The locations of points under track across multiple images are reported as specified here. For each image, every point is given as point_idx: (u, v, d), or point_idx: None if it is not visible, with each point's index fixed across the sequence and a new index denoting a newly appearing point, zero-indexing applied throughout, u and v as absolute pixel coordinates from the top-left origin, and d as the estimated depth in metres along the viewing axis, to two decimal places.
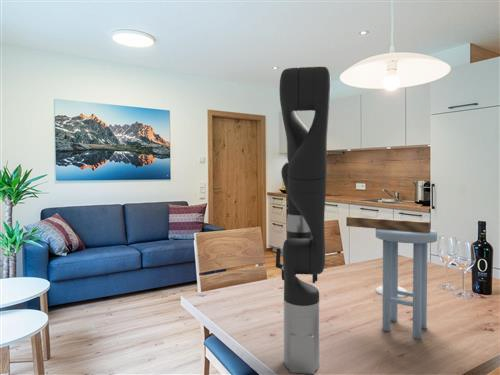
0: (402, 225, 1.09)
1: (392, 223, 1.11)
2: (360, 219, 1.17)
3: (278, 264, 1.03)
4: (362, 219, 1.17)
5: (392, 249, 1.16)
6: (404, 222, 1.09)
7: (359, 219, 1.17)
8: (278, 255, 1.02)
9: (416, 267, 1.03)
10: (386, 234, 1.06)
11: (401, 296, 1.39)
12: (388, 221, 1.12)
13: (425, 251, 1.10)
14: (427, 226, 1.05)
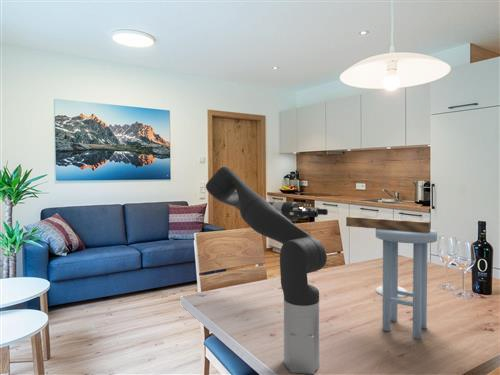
0: (402, 225, 1.09)
1: (392, 223, 1.11)
2: (360, 219, 1.17)
3: None
4: (362, 219, 1.17)
5: (392, 249, 1.16)
6: (404, 222, 1.09)
7: (359, 219, 1.17)
8: None
9: (416, 267, 1.03)
10: (386, 234, 1.06)
11: (401, 296, 1.39)
12: (388, 221, 1.12)
13: (425, 251, 1.10)
14: (427, 226, 1.05)
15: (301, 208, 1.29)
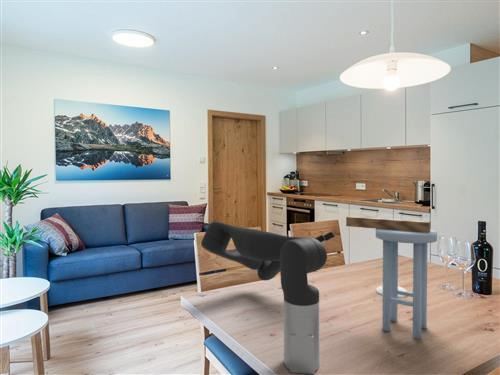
0: (402, 225, 1.09)
1: (392, 223, 1.11)
2: (360, 219, 1.17)
3: None
4: (362, 219, 1.17)
5: (392, 249, 1.16)
6: (404, 222, 1.09)
7: (359, 219, 1.17)
8: None
9: (416, 267, 1.03)
10: (386, 234, 1.06)
11: (401, 296, 1.39)
12: (388, 221, 1.12)
13: (425, 251, 1.10)
14: (427, 226, 1.05)
15: None
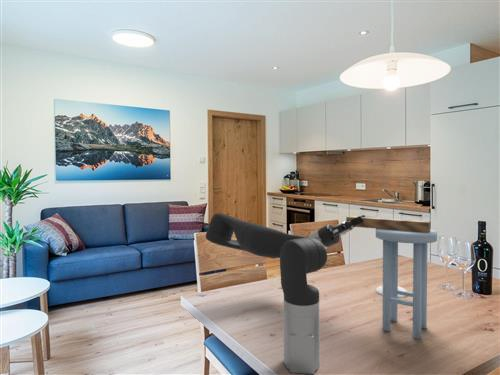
0: (402, 225, 1.09)
1: (392, 223, 1.11)
2: None
3: None
4: None
5: (392, 249, 1.16)
6: (404, 222, 1.09)
7: None
8: None
9: (416, 267, 1.03)
10: (386, 234, 1.06)
11: (401, 296, 1.39)
12: (388, 221, 1.12)
13: (425, 251, 1.10)
14: (427, 226, 1.05)
15: None
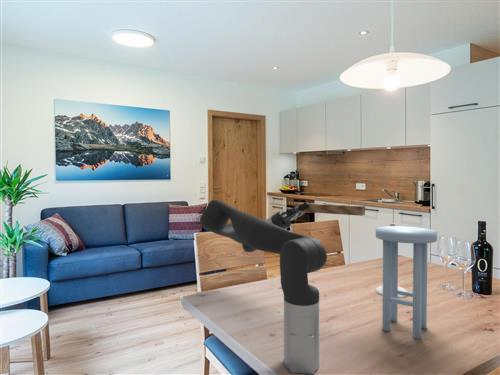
0: (341, 209, 1.21)
1: (332, 208, 1.23)
2: None
3: (305, 212, 1.36)
4: None
5: (392, 249, 1.16)
6: (342, 206, 1.21)
7: None
8: (301, 214, 1.39)
9: (416, 267, 1.03)
10: (386, 234, 1.06)
11: (401, 296, 1.39)
12: (329, 206, 1.24)
13: (425, 251, 1.10)
14: (360, 209, 1.17)
15: None
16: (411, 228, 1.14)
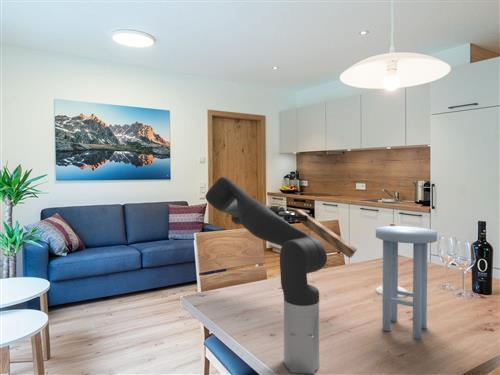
0: (334, 241, 1.23)
1: (327, 235, 1.25)
2: None
3: None
4: None
5: (392, 249, 1.16)
6: (336, 240, 1.23)
7: None
8: None
9: (416, 267, 1.03)
10: (386, 234, 1.06)
11: (401, 296, 1.39)
12: (325, 232, 1.25)
13: (425, 251, 1.10)
14: (351, 252, 1.19)
15: (289, 212, 1.33)
16: (411, 228, 1.14)
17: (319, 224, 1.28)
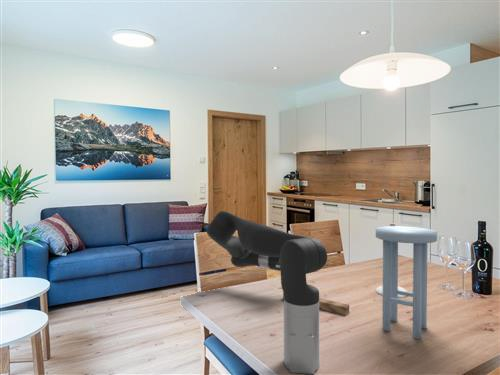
0: (326, 306, 1.26)
1: None
2: None
3: None
4: None
5: (392, 249, 1.16)
6: (327, 304, 1.26)
7: None
8: None
9: (416, 267, 1.03)
10: (386, 234, 1.06)
11: (401, 296, 1.39)
12: None
13: (425, 251, 1.10)
14: (345, 310, 1.22)
15: None
16: (411, 228, 1.14)
17: None
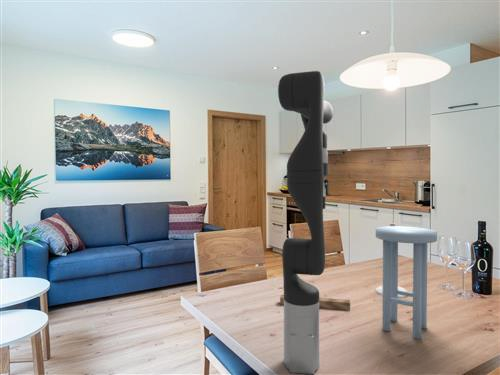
0: (329, 304, 1.28)
1: (320, 303, 1.28)
2: None
3: None
4: None
5: (392, 249, 1.16)
6: (330, 302, 1.28)
7: None
8: None
9: (416, 267, 1.03)
10: (386, 234, 1.06)
11: (401, 296, 1.39)
12: None
13: (425, 251, 1.10)
14: (349, 306, 1.26)
15: None
16: (411, 228, 1.14)
17: None
